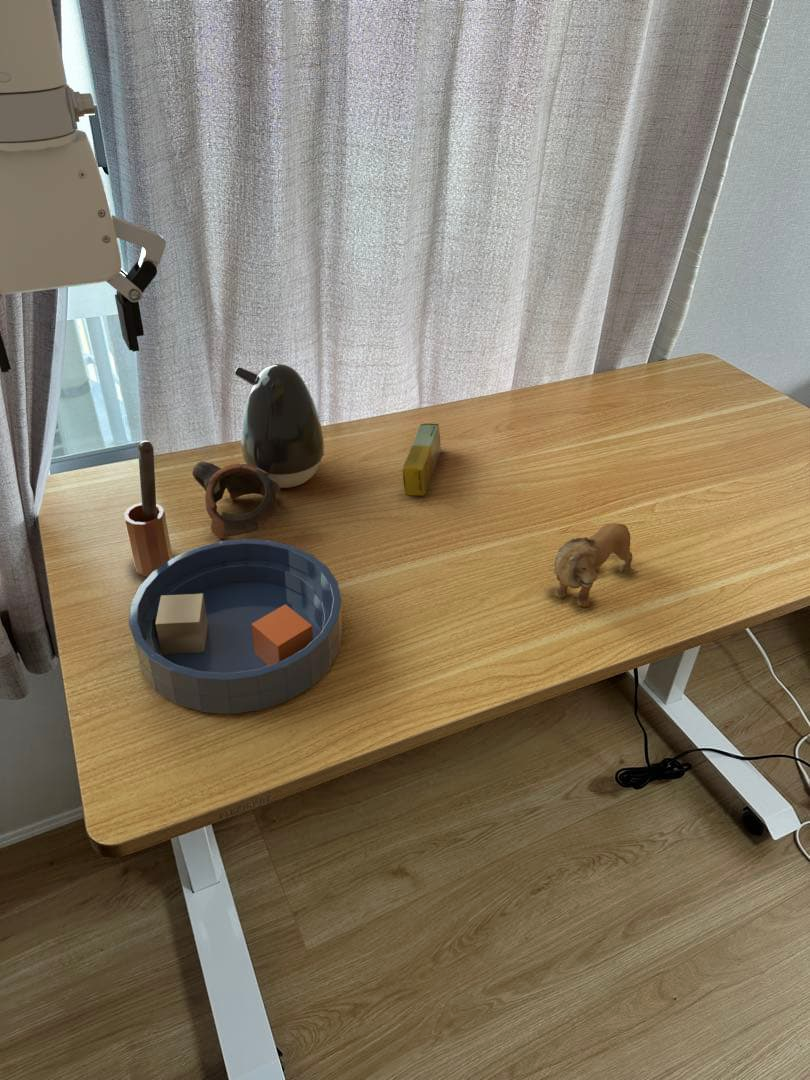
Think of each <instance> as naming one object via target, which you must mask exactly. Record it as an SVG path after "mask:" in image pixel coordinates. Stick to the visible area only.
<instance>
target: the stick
mask: <svg viewBox="0 0 810 1080" xmlns="http://www.w3.org/2000/svg"><path fill="white" fill-rule="evenodd" d="M154 451H155V450H154V445H153V443H152V442H151V441H149V440H143V441H140V442H139V444H138V446H137V453H138V467H139V468H138V469H139V483H140V497H141V503H142V513H143V522H146V521H150V520H153V519H154V518H156V517H157V509H156V504H157V491H156V489H157V488H156V473H155V470H156V469H155V458H154V457H155V453H154Z"/></svg>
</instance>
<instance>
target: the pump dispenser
mask: <svg viewBox="0 0 810 1080" xmlns="http://www.w3.org/2000/svg"><path fill="white" fill-rule="evenodd" d="M234 375H235V376H236V377H238V378H240V380H243V381H245V382H246V383H248V384H249V385H251V388H250V391H249V394H248V397H247V400H246V403H245V407H244V412H243V416H242V417H243V418H242V422H241V423H242V425H241V435H240V436H241V438H240V439H241V441H240V448H241V449H240V451H241V457H242V459H243V461H244V462H245V464H247V465H251V466H254V467H257V468H259V469H262V470H264V471H265V472H267V473H268V474H269V476H267V477H268V478H270V479H271V480H273V481H274V482H275V483H277V484H278V485H279V487H280V489H285V488H286V489H287V488H293V487H297V486H300V485H302V484H304V483H306V482H307V481H309V480H310V479H311V478H312V477H313V476H314V475H315V474H316V472H317V471H318V469H319V467H320V464H321V461H322V459H323V457H324V455H325V441H324V434H323V429H322V423H321V420H320V416H319V413H318V410H317V406H316V404H315V402H314V399H313V397H312V394H311V392H310V390H309V388H308V386H307V384H306V383H305V381H304V379H303V378H302V377H301V375H300V374H299V372H297V370H295V368H293V367H291V366H290V365H286V364H283V363H275V364H270V365H268V366H267V367H264V368H263V369H262V370H261V371H260V372H259V373H258V374H257V373H255V372H252V371H249V369H248V370H247V369H246V368H243V367H240V366H238V367H236V369H235V370H234Z"/></svg>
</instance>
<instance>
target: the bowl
mask: <svg viewBox="0 0 810 1080" xmlns="http://www.w3.org/2000/svg"><path fill="white" fill-rule="evenodd" d="M184 594H203V595H204V601H205V608H206V614H207V620H208V628H207V636H206V644H205V652H199V653H180V654H162V653H161V649H160V644H159V639H158V634H157V630H156V625H155V623H156V618H157V613H158V608H159V603H160V598H161V595H184ZM342 603H343V602H342V595H341V590H340V586H339V582H338V581H337V579H336V578H335V576H334V575H333V573H332V571H331V570H330V568H329V567H328V566H327V565H326V564H325V563H323V562H322V561H321V560H320V559H318V558H317V557H316V556H314V555H313V554H311V553H309V552H307V551H304V550H303V549H300V548H299V547H297V546H295V545H291V544H288V543H283V542H280V541H279V542H278V541H274V540H271V539H258V538H257V539H255V538H241V539H231V540H221V541H216V542H212V543H208V544H204V545H200V546H196V547H194V548H192V549H189V550H187V551H185V552H182V553H180V554H178V555H176V556H173V558H172V559H170V560H169V561H167V562H166V563H165V564H163V565H162V566H160V567H159V568H157V569H156V570H154V571H153V572H152V573H151V574H150V575H149V576H148V577H146V579H145V580H144V581H142V582H141V584H140V585H139V586H138V588H137V590H136V592H135V594H134V596H133V599H132V600H131V602H130V605H129V612H128V613H129V615H128V628H129V630H130V631H129V632H130V634H131V635H130V636H131V641H132V644H133V649H134V653H135V657H136V660H137V663H138V666H139V669H140V671H141V675H142V677H143V678H144V679H145V680H146V681H147V683H148V684H149V685H150V686H151V687H152V688H153V690H154V691H155V692H156V693H158V694H159V695H161V696H162V697H165V698H166V699H167V700H169V701H171V702H173V703H174V704H176V705H178V706H182V707H185V708H188V709H191V710H195V711H198V712H203V713H211V714H212V713H214V714H228V715H232V714H242V713H247V712H248V713H249V712H255V711H261V710H265V709H268V708H271V707H273V706H276V705H279V704H282V703H286V702H288V701H290V700H292V699H293V698H295V697H298V696H299V695H300V694H302V693H303V692H305V691H307V690H308V689H310V688H312V687H313V686H314V685H315V684H316V683H317V682H318V681H319V680H320V679H321V678H322V677H323V676H324V675H325V674H327V672H328V671H330V668H331V667H332V665H333V663H334V661H335V659H336V657H337V656H338V654H339V652H340V650H341V649H340V648H341V643H342V636H343V604H342ZM285 604H286V605H287V606H288V607H290V608H291V609H292V610H293V611H295V612H296V613H297V614H298V615H300V616H301V617H302V618H303V619H305V620H306V621H307V622H308V623H310V624H311V625H312V630H313V641H312V642H311V643H310V644H309V645H308V646H306V647H305V648H304V649H302V650H301V651H299V652H297V653H295V654H294V655H292V656H290V657H288V658H287V659H285V660H283V661H281V662H278V663H275V664H272V665H269V666H268V665H267V664H266V663H264V662H263V661H262V660H261V659H260V658H259V657H258V656H256V655H255V651H254V642H253V633H252V623H254V622H256V621H257V620H259V619H261V618H263V617H264V616H266V615H268V614H270V613H271V612H273V611H275V610H277V609H278V608H280V607H282V606H284V605H285Z"/></svg>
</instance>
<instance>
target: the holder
mask: <svg viewBox="0 0 810 1080" xmlns="http://www.w3.org/2000/svg"><path fill="white" fill-rule="evenodd" d="M156 509H157V517H156V518H154V519H153V520H150V521H146V522H143V513H142V502H139V503H135V504H133V505H131V506H130V507H128V508H127V509H125V511H124V514H123V515H122V516H123V520H124V525H125V530H126V533H127V534H126V535H127V538H128V543H129V548H130V553H131V557H132V562H133V565H134V569H135V572H136V573H137V574H139V575H140V576H143V577H146V578H147V577H148V576H149V575H150V574H151V573H152V572H153V571H154V570H156V569H157V568H159V567H160V566H162V565H163V564H165V563H166V562H167V561H169V560H170V559H172V558H174V555H173V551H172V545H171V539H170V533H169V529H168V522H167V517H166V513H165V509H164V507H163V505H161V504H159V503H156Z"/></svg>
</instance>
